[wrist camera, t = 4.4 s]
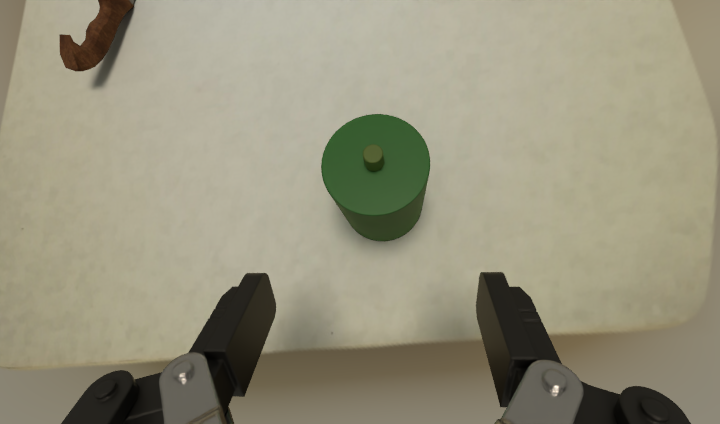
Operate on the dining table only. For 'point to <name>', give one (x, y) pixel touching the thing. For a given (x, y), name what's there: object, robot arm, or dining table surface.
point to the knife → (95, 36)
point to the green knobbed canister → (377, 175)
